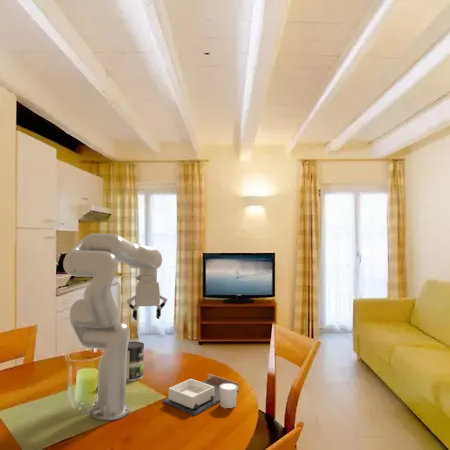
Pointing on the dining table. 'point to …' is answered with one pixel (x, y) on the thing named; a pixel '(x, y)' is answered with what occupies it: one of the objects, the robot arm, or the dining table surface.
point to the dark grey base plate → (216, 383)
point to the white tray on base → (191, 393)
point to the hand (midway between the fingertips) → (146, 318)
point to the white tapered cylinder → (228, 395)
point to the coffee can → (134, 361)
